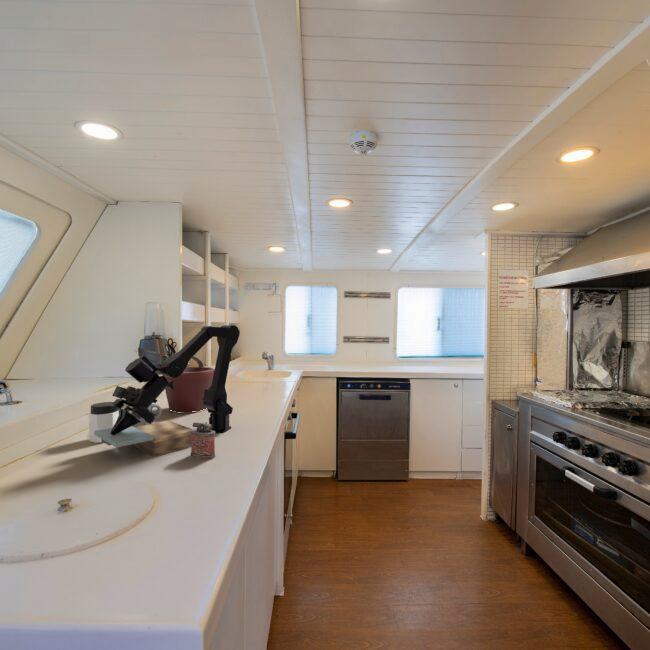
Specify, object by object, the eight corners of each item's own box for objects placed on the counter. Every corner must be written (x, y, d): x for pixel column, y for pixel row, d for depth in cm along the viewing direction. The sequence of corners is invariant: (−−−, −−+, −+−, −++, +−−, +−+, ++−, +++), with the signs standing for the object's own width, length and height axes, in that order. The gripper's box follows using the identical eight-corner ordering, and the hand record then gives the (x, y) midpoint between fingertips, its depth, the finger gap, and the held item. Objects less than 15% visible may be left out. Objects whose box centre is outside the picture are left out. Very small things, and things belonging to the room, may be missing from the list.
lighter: (217, 456, 105) (217, 422, 105) (210, 460, 102) (210, 425, 102) (195, 452, 108) (195, 420, 108) (187, 456, 104) (187, 423, 105)
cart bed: (168, 434, 126) (168, 420, 126) (194, 445, 115) (194, 429, 115) (129, 443, 116) (130, 428, 116) (154, 456, 105) (154, 439, 105)
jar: (88, 444, 115) (88, 408, 116) (89, 438, 122) (89, 403, 122) (120, 439, 120) (120, 404, 120) (118, 433, 127) (119, 400, 127)
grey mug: (119, 431, 130) (119, 404, 130) (125, 424, 139) (125, 399, 139) (159, 428, 134) (159, 402, 134) (162, 421, 144) (162, 397, 144)
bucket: (188, 417, 151) (188, 358, 151) (149, 413, 159) (149, 357, 159) (224, 405, 173) (223, 354, 174) (188, 402, 181) (188, 353, 182)
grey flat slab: (129, 425, 116) (94, 430, 109) (153, 435, 105) (116, 442, 97) (128, 431, 116) (94, 437, 109) (152, 442, 104) (115, 450, 97)
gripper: (119, 373, 114) (79, 413, 106) (144, 378, 102) (100, 424, 94) (144, 394, 120) (108, 434, 112) (170, 401, 108) (132, 446, 100)
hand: (111, 434), depth 104 cm, fingers closed, pressing on grey flat slab
